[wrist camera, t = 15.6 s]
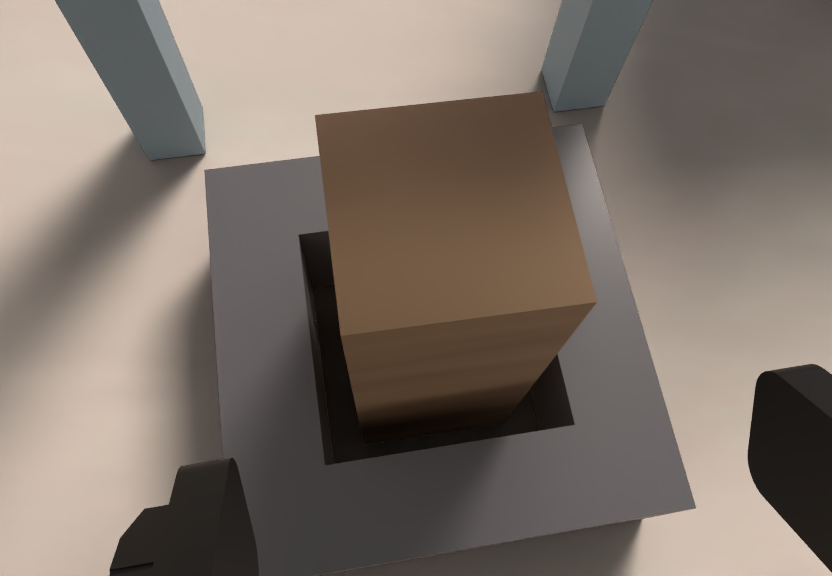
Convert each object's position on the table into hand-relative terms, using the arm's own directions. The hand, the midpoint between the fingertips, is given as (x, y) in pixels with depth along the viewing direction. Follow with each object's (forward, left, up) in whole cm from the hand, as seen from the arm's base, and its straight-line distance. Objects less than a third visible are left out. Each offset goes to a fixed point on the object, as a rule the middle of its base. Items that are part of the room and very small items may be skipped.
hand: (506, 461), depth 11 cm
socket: (+2, +4, -11) cm, 12 cm away
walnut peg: (+2, +4, -11) cm, 12 cm away
